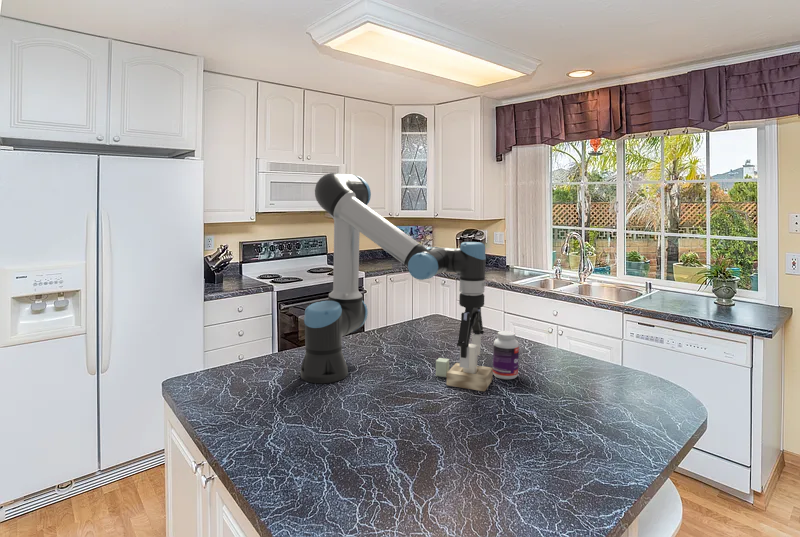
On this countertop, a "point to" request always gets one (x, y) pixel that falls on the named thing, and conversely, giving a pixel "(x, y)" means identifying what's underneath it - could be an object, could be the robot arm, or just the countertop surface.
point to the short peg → (442, 367)
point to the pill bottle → (505, 355)
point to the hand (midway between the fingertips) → (470, 360)
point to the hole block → (470, 378)
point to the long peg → (472, 359)
